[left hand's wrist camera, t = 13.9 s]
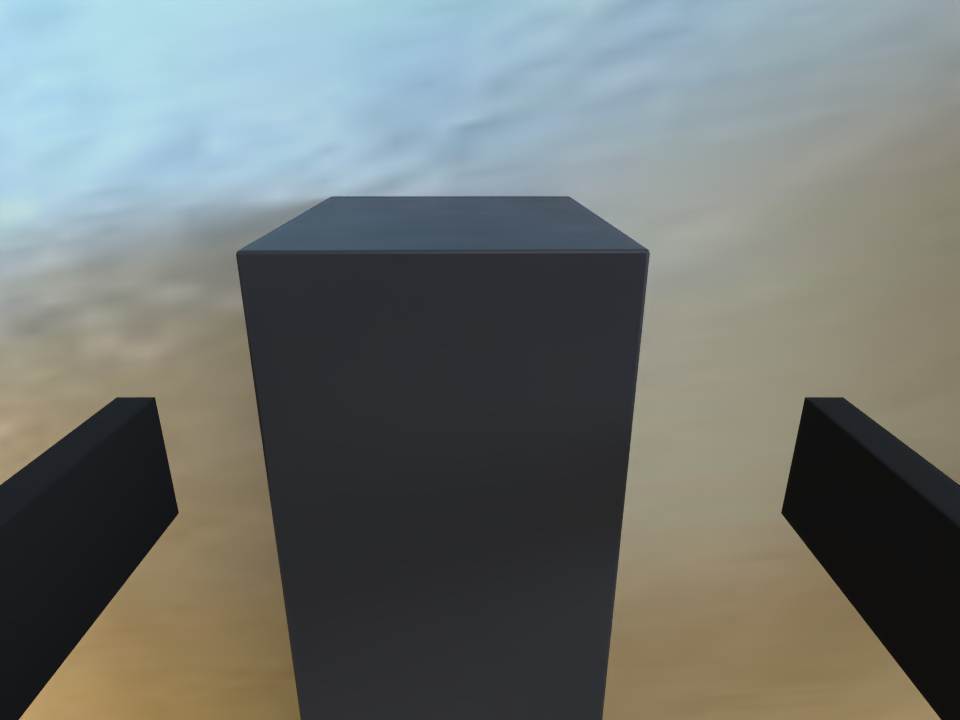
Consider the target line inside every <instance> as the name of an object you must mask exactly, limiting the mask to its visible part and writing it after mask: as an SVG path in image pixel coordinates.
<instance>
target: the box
mask: <svg viewBox="0 0 960 720" xmlns="http://www.w3.org/2000/svg"><path fill="white" fill-rule="evenodd" d="M649 254H650V253H649V250H648V249H646V248H645V247H643V246H642V245H640V244H639V243H637V242H636V241H634V240H633V239H631V238H630V237H628V236H627V235H625V234H624V233H622V232H621V231H619V230H618V229H616V228H615V227H614V226H612V225H611V224H609V223H608V222H606V221H605V220H603V219H602V218H600V217H599V216H597V215H596V214H594V213H593V212H591V211H590V210H588V209H587V208H585V207H584V206H582V205H581V204H579V203H578V202H576V201H575V200H573V199H572V198H571V197H330V198H329V199H327V200H325V201H323V202H322V203H320V204H318V205H316V206H315V207H313V208H311V209H310V210H308V211H306V212H304V213H303V214H301V215H299V216H297V217H296V218H294V219H292V220H291V221H289V222H287V223H285V224H284V225H282V226H280V227H278V228H277V229H275V230H273V231H272V232H270V233H268V234H266V235H265V236H263V237H261V238H259V239H258V240H256V241H254V242H253V243H251V244H249V245H247V246H246V247H244V248H242V249H240V250H239V251H237V254H236V257H237V264H238V271H239V278H240V286H241V293H242V300H243V307H244V314H245V322H246V329H247V336H248V343H249V350H250V357H251V365H252V372H253V379H254V386H255V393H256V401H257V408H258V415H259V422H260V429H261V436H262V444H263V451H264V458H265V465H266V472H267V480H268V487H269V494H270V501H271V508H272V515H273V523H274V530H275V537H276V544H277V551H278V559H279V566H280V573H281V580H282V587H283V594H284V602H285V609H286V616H287V623H288V630H289V638H290V645H291V652H292V659H293V666H294V673H295V681H296V688H297V695H298V702H299V709H300V717H301V720H602V716H603V706H604V696H605V687H606V677H607V667H608V657H609V647H610V637H611V628H612V618H613V608H614V598H615V588H616V578H617V569H618V559H619V549H620V539H621V529H622V519H623V510H624V500H625V490H626V480H627V470H628V461H629V451H630V441H631V431H632V421H633V411H634V402H635V392H636V382H637V372H638V362H639V352H640V343H641V333H642V323H643V313H644V303H645V293H646V284H647V274H648V264H649Z"/></svg>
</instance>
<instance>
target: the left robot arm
mask: <svg viewBox="0 0 960 720" xmlns="http://www.w3.org/2000/svg"><path fill="white" fill-rule="evenodd" d="M178 513H179V512H178V508H177V503H176V498H175V493H174V488H173V483H172V478H171V474H170V469H169V464H168V459H167V454H166V449H165V444H164V439H163V435H162V430H161V425H160V420H159V415H158V410H157V405H156V401H155V398H116V399H114V400H113V401H112V402H110V403H109V404H108V405H106V406H105V407H104V408H102V409H101V410H100V411H98V412H97V413H96V414H94V415H93V416H92V417H90V418H89V419H88V420H86V421H85V422H84V423H82V424H81V425H80V426H78V427H77V428H76V429H74V430H73V431H72V432H70V433H69V434H68V435H66V436H65V437H64V438H62V439H61V440H60V441H59V442H57V443H56V444H55V445H53V446H52V447H51V448H49V449H48V450H47V451H45V452H44V453H43V454H41V455H40V456H39V457H37V458H36V459H35V460H33V461H32V462H31V463H29V464H28V465H27V466H25V467H24V468H23V469H21V470H20V471H19V472H17V473H16V474H15V475H13V476H12V477H11V478H9V479H8V480H7V481H5V482H4V483H3V484H1V485H0V720H19V718H20V717H21V716H22V715H23V713H24V712H25V711H26V709H27V708H28V707H29V706H30V704H31V703H32V702H33V700H34V699H35V698H36V697H37V695H38V694H39V693H40V691H41V690H42V689H43V688H44V686H45V685H46V684H47V682H48V681H49V680H50V678H51V677H52V676H53V675H54V673H55V672H56V671H57V669H58V668H59V667H60V666H61V664H62V663H63V662H64V660H65V659H66V658H67V657H68V655H69V654H70V653H71V651H72V650H73V649H74V647H75V646H76V645H77V644H78V642H79V641H80V640H81V638H82V637H83V636H84V635H85V633H86V632H87V631H88V629H89V628H90V627H91V626H92V624H93V623H94V622H95V620H96V619H97V618H98V617H99V615H100V614H101V613H102V611H103V610H104V609H105V607H106V606H107V605H108V604H109V602H110V601H111V600H112V598H113V597H114V596H115V595H116V593H117V592H118V591H119V589H120V588H121V587H122V586H123V584H124V583H125V582H126V580H127V579H128V578H129V576H130V575H131V574H132V573H133V571H134V570H135V569H136V567H137V566H138V565H139V564H140V562H141V561H142V560H143V558H144V557H145V556H146V555H147V553H148V552H149V551H150V549H151V548H152V547H153V546H154V544H155V543H156V542H157V540H158V539H159V538H160V536H161V535H162V534H163V533H164V531H165V530H166V529H167V527H168V526H169V525H170V524H171V522H172V521H173V520H174V518H175V517H176V516H177V515H178ZM781 513H782V515H783V516H784V517H785V518H786V520H787V521H788V522H789V524H790V525H791V526H792V527H793V529H794V530H795V531H796V533H797V534H798V535H799V536H800V538H801V539H802V540H803V542H804V543H805V544H806V546H807V547H808V548H809V549H810V551H811V552H812V553H813V555H814V556H815V557H816V558H817V560H818V561H819V562H820V564H821V565H822V566H823V567H824V569H825V570H826V571H827V573H828V574H829V575H830V576H831V578H832V579H833V580H834V582H835V583H836V584H837V586H838V587H839V588H840V589H841V591H842V592H843V593H844V595H845V596H846V597H847V598H848V600H849V601H850V602H851V604H852V605H853V606H854V607H855V609H856V610H857V611H858V613H859V614H860V615H861V617H862V618H863V619H864V620H865V622H866V623H867V624H868V626H869V627H870V628H871V629H872V631H873V632H874V633H875V635H876V636H877V637H878V638H879V640H880V641H881V642H882V644H883V645H884V646H885V647H886V649H887V650H888V651H889V653H890V654H891V655H892V657H893V658H894V659H895V660H896V662H897V663H898V664H899V666H900V667H901V668H902V669H903V671H904V672H905V673H906V675H907V676H908V677H909V678H910V680H911V681H912V682H913V684H914V685H915V686H916V688H917V689H918V690H919V691H920V693H921V694H922V695H923V697H924V698H925V699H926V700H927V702H928V703H929V704H930V706H931V707H932V708H933V709H934V711H935V712H936V713H937V715H938V716H939V717H940V718H941V720H960V485H959V484H957V483H956V482H955V481H953V480H952V479H951V478H949V477H948V476H947V475H945V474H944V473H943V472H941V471H940V470H939V469H937V468H936V467H935V466H933V465H932V464H931V463H929V462H928V461H927V460H925V459H924V458H923V457H921V456H920V455H919V454H917V453H916V452H915V451H913V450H912V449H911V448H909V447H908V446H907V445H905V444H904V443H903V442H901V441H900V440H899V439H898V438H896V437H895V436H894V435H892V434H891V433H890V432H888V431H887V430H886V429H884V428H883V427H882V426H880V425H879V424H878V423H876V422H875V421H874V420H872V419H871V418H870V417H868V416H867V415H866V414H864V413H863V412H862V411H860V410H859V409H858V408H856V407H855V406H854V405H852V404H851V403H850V402H848V401H847V400H846V399H844V398H805V401H804V405H803V410H802V415H801V420H800V425H799V430H798V435H797V439H796V444H795V449H794V454H793V459H792V464H791V469H790V474H789V478H788V483H787V488H786V493H785V498H784V503H783V508H782V512H781Z"/></svg>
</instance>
